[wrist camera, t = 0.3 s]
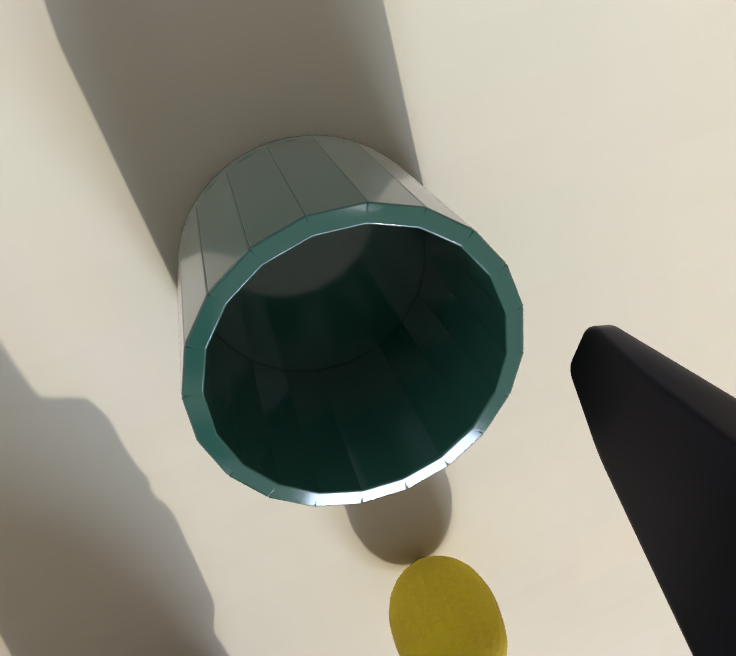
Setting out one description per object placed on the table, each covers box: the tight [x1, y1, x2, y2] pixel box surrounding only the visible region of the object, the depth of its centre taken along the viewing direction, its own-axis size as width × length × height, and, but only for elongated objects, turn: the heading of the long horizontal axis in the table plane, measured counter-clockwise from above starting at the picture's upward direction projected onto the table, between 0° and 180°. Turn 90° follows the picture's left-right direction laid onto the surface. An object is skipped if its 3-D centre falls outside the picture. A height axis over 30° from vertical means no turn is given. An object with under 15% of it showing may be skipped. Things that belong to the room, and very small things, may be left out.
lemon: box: [389, 556, 507, 656], centre depth 32 cm, size 6×6×8 cm
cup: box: [177, 135, 523, 506], centre depth 22 cm, size 10×10×8 cm
